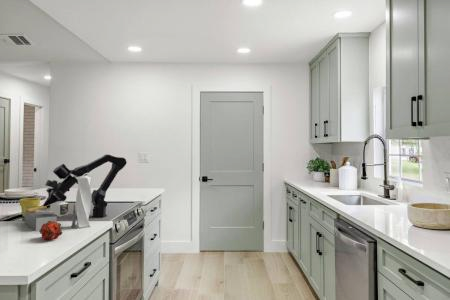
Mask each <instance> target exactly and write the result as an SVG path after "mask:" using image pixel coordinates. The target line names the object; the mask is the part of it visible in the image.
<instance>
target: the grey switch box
mask: <svg viewBox="0 0 450 300" xmlns="http://www.w3.org/2000/svg"><path fill="white" fill-rule="evenodd" d="M41 210H42V211H49V210H48V209H47V208H45V209H41ZM48 221H51V222H52V221H56V222H57V223H58V216H57V215H56V214H39V213H35V211H33V212H29V211H25V217H24V224H25V225H26V226H28V227H29V228H30V229H32V230H33V231H34V232H40V230H41V227H42V225H43V224H46V223H47V222H48Z"/></svg>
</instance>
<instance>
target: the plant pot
mask: <svg viewBox="0 0 450 300" xmlns="http://www.w3.org/2000/svg"><path fill="white" fill-rule="evenodd" d="M40 204H41V199H40V198H37V197H36V198H35V197H34V198H33V197H31V198H21V199H19V206H20V208H21V215H22V217H24V218H25V211H28V209H30V208H35V207H39V206H41V205H40Z"/></svg>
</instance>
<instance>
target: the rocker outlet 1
mask: <svg viewBox="0 0 450 300" xmlns="http://www.w3.org/2000/svg"><path fill="white" fill-rule="evenodd" d="M47 206H48V205H47ZM47 206H43V205H38V207H35V208H30V209H28V211H29V212H33V211H35V210H44V209H48V208H47Z"/></svg>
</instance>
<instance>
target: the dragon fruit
mask: <svg viewBox="0 0 450 300" xmlns="http://www.w3.org/2000/svg"><path fill="white" fill-rule="evenodd" d="M39 233H40V234H41V238H42V239H44V240H45V241H46V242H48V241H51V240H53V239H55V240H56V239H58V238H59V237H60V236H61V235H63V230H62V224H61V223H60V222H58V221H57V222H56V221H52V222H51V221H48V222H47V223H46V224H43V225H42V227H41V230H40V231H39Z"/></svg>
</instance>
